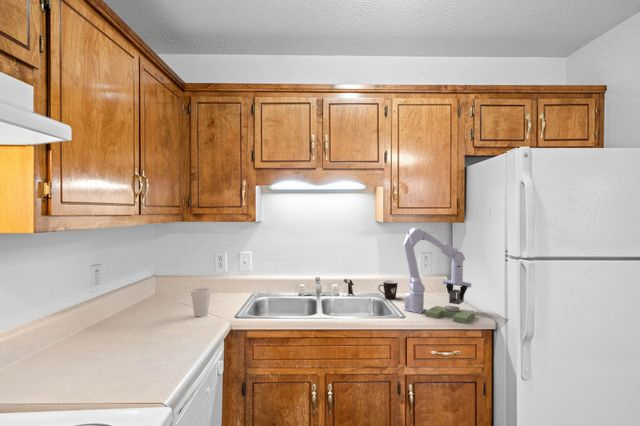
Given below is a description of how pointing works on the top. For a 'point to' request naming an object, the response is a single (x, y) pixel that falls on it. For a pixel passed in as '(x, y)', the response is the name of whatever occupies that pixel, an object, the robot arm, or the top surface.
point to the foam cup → (200, 301)
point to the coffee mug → (389, 289)
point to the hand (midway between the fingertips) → (456, 298)
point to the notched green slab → (451, 313)
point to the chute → (453, 297)
